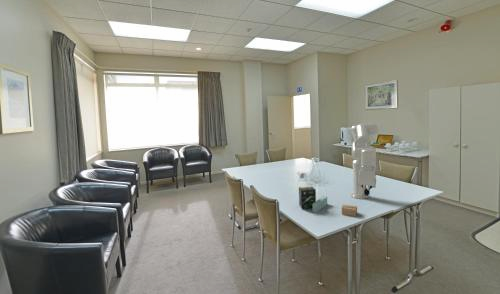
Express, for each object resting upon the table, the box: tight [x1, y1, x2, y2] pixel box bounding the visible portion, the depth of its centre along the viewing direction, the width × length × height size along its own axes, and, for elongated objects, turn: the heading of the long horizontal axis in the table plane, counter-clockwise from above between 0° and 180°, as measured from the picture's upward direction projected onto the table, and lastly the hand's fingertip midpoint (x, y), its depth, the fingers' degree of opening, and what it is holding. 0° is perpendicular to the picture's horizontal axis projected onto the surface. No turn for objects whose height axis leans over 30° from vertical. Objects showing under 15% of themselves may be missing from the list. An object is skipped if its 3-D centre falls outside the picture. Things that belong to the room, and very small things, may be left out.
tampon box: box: [298, 186, 317, 210], centre depth 184 cm, size 11×9×15 cm
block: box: [341, 204, 358, 217], centre depth 169 cm, size 7×9×5 cm
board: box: [312, 195, 328, 214], centre depth 181 cm, size 20×3×6 cm, turn 141°
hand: (366, 195), depth 160 cm, fingers closed
